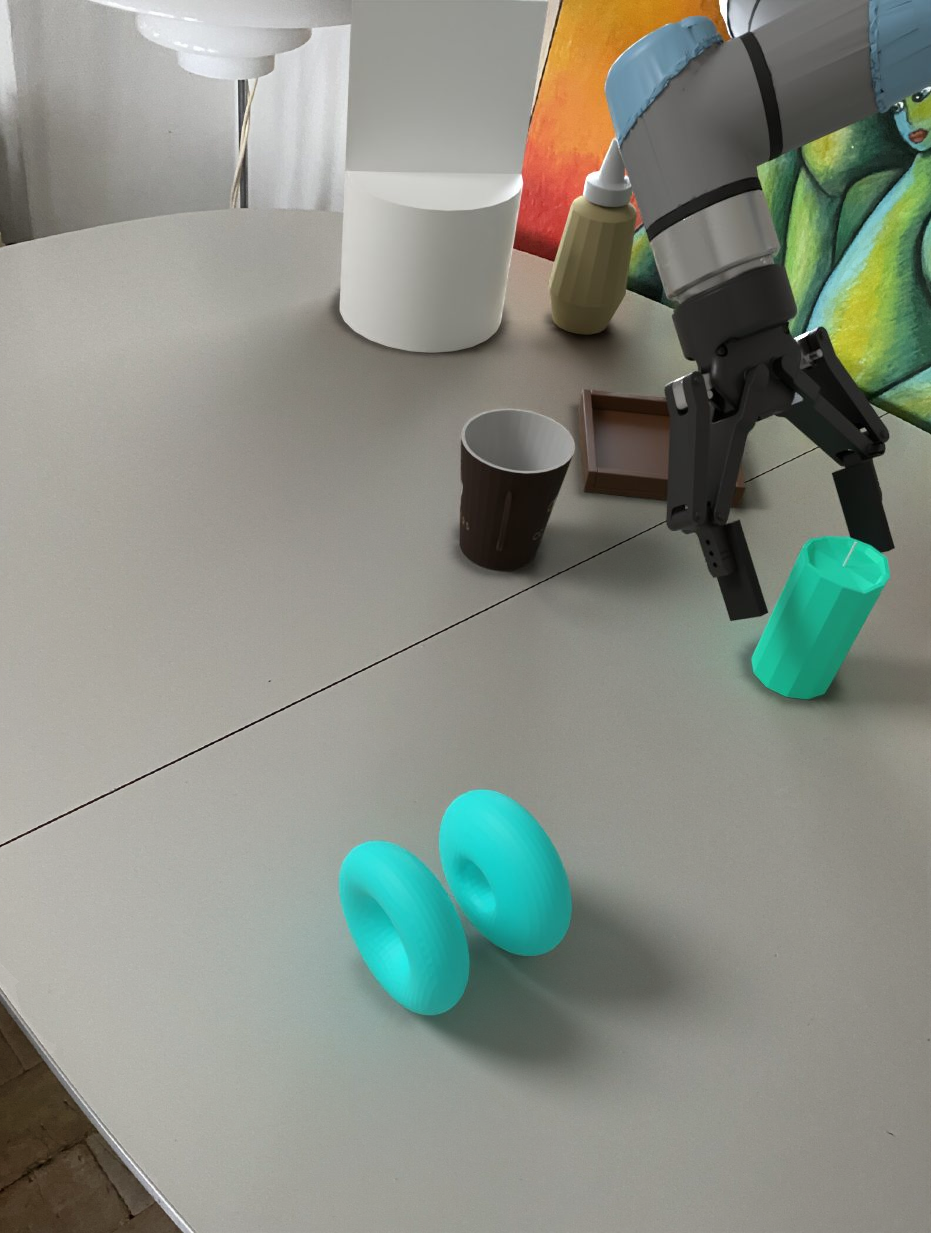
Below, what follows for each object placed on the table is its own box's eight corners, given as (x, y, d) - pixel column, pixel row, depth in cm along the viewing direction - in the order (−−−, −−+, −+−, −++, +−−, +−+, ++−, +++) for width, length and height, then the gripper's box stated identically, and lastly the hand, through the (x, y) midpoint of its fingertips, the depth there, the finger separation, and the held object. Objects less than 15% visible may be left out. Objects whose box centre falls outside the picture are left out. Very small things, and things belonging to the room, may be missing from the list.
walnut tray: (719, 422, 102) (725, 403, 100) (738, 507, 93) (746, 487, 91) (577, 408, 102) (582, 388, 100) (583, 491, 93) (588, 471, 92)
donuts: (562, 971, 62) (600, 874, 54) (421, 1056, 58) (442, 964, 50) (461, 851, 67) (483, 747, 59) (326, 920, 63) (331, 819, 56)
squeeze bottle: (632, 330, 113) (680, 146, 99) (576, 348, 110) (617, 161, 96) (582, 297, 117) (621, 117, 103) (526, 314, 114) (559, 130, 100)
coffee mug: (480, 501, 91) (498, 395, 84) (568, 541, 88) (594, 435, 81) (405, 568, 85) (416, 460, 77) (497, 614, 82) (518, 507, 74)
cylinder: (332, 272, 117) (342, -35, 96) (485, 273, 119) (528, -28, 98) (347, 352, 106) (362, 25, 85) (515, 352, 108) (571, 32, 87)
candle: (745, 685, 78) (805, 556, 69) (755, 634, 82) (814, 505, 73) (828, 709, 77) (900, 581, 68) (834, 656, 81) (904, 528, 72)
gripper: (801, 267, 79) (879, 538, 83) (550, 347, 69) (651, 651, 73) (890, 222, 73) (970, 518, 76) (626, 303, 62) (733, 641, 66)
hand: (814, 584), depth 75 cm, fingers open, 13 cm apart
